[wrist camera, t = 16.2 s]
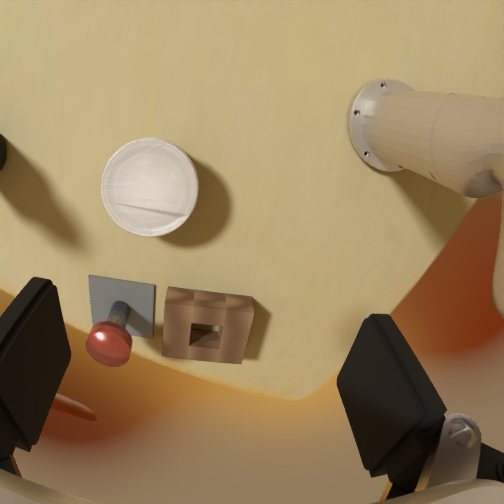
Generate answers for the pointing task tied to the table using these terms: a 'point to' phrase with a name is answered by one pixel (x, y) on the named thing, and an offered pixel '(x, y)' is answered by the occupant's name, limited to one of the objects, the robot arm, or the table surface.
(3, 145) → the potion bottle
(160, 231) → the ramekin
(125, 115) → the table surface
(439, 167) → the robot arm
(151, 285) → the slate mat
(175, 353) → the eye block
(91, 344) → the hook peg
